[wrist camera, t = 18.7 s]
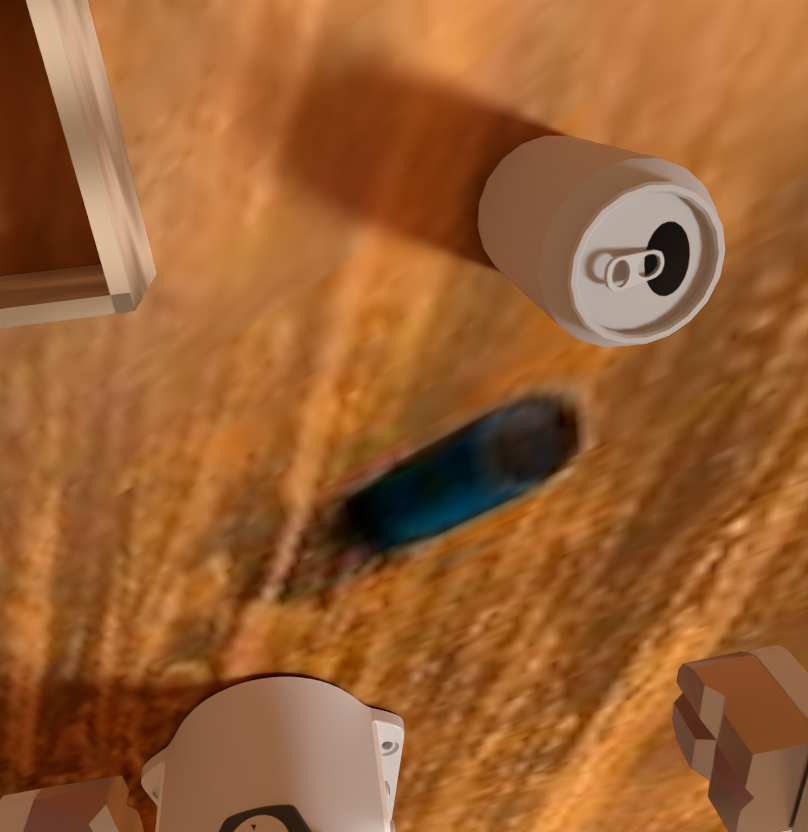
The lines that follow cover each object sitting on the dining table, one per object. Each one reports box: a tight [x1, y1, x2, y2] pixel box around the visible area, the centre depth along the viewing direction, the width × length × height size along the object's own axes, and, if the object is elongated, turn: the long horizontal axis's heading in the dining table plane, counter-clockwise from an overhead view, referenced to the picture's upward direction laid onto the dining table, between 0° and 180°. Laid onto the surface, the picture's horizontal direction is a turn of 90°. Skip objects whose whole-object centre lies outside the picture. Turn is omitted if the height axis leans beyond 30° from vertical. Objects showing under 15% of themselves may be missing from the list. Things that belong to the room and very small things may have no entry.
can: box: [478, 136, 725, 347], centre depth 31 cm, size 8×8×12 cm
